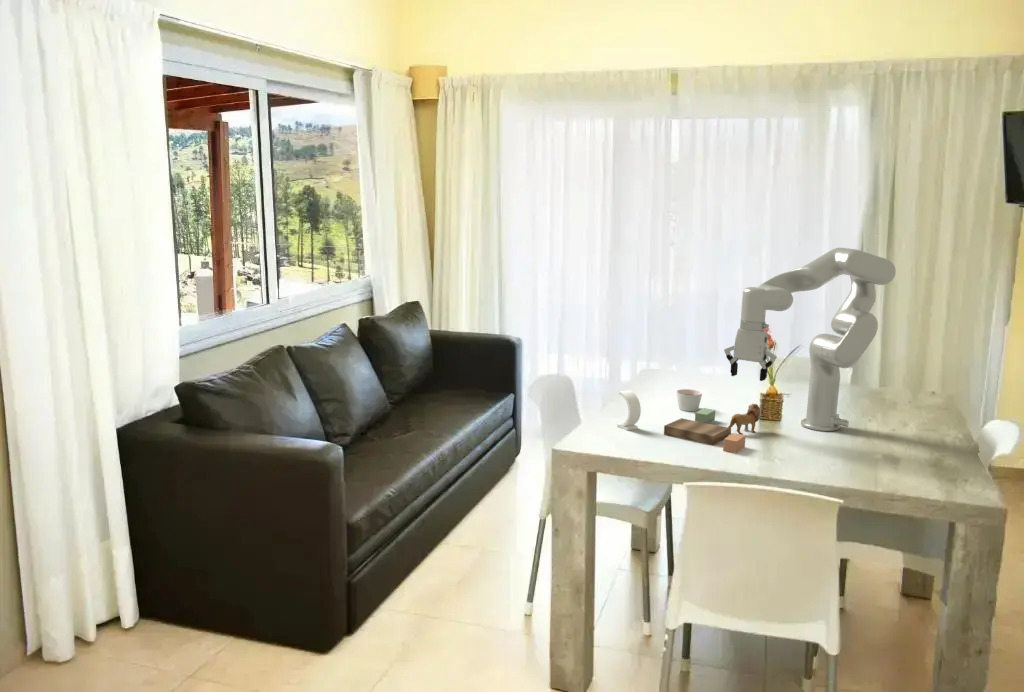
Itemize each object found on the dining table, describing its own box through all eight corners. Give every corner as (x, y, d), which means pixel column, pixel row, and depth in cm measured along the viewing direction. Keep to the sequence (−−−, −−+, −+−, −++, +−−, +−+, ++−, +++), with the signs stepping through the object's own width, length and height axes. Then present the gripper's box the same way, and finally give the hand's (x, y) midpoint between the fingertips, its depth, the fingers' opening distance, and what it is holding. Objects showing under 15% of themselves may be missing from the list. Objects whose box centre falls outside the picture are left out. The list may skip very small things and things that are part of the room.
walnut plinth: (728, 436, 273) (729, 427, 273) (712, 445, 264) (713, 436, 263) (680, 426, 283) (681, 418, 283) (663, 434, 274) (664, 425, 273)
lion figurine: (749, 427, 285) (751, 401, 283) (762, 431, 281) (764, 404, 279) (722, 434, 276) (724, 407, 274) (736, 438, 272) (738, 411, 270)
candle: (684, 404, 313) (686, 388, 312) (705, 409, 306) (707, 392, 305) (670, 408, 306) (671, 391, 305) (691, 413, 300) (693, 396, 299)
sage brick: (703, 419, 294) (704, 408, 294) (714, 421, 292) (715, 409, 291) (694, 424, 288) (695, 412, 287) (705, 426, 286) (706, 414, 285)
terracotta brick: (732, 445, 265) (733, 432, 264) (744, 447, 263) (745, 435, 262) (723, 451, 259) (723, 438, 258) (735, 454, 256) (736, 441, 256)
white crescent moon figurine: (627, 424, 284) (629, 390, 282) (639, 429, 280) (641, 393, 277) (617, 426, 282) (618, 391, 280) (629, 431, 277) (630, 395, 275)
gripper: (782, 327, 271) (778, 380, 274) (731, 321, 281) (727, 372, 284) (774, 330, 265) (769, 384, 268) (722, 324, 275) (718, 375, 278)
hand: (748, 377), depth 276 cm, fingers open, 9 cm apart
